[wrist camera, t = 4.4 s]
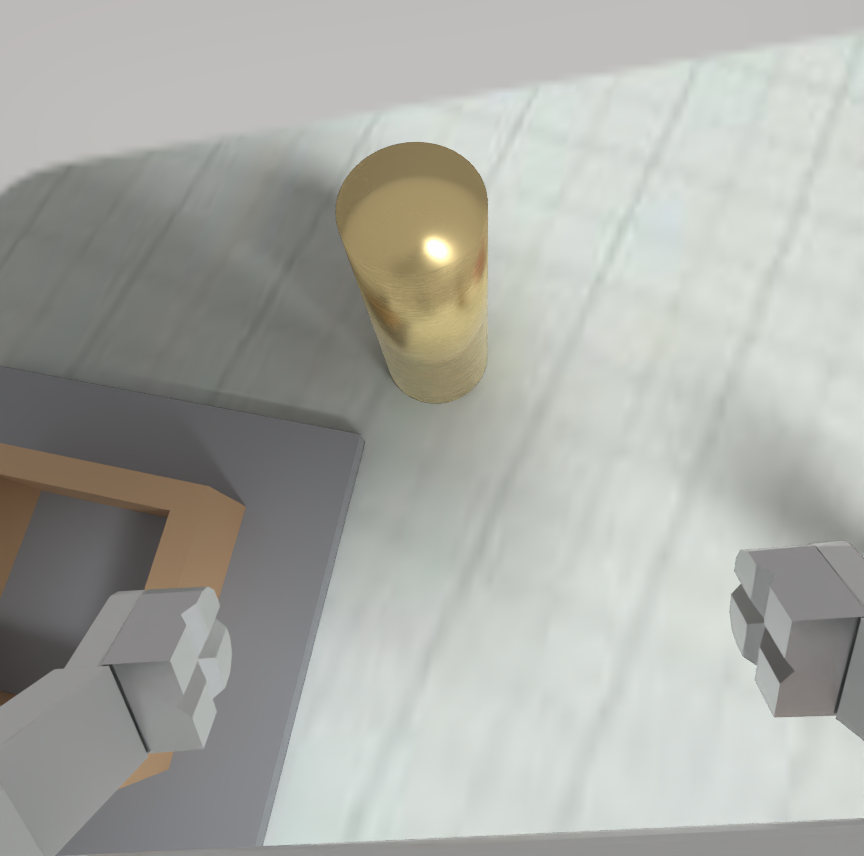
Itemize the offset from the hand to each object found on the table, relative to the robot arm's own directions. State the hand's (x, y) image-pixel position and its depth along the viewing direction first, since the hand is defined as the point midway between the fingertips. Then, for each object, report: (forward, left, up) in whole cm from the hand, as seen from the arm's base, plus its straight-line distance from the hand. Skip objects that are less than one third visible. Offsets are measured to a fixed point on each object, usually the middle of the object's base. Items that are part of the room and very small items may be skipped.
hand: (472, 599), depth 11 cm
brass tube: (+4, -10, -14) cm, 18 cm away
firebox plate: (+14, +2, -14) cm, 20 cm away
